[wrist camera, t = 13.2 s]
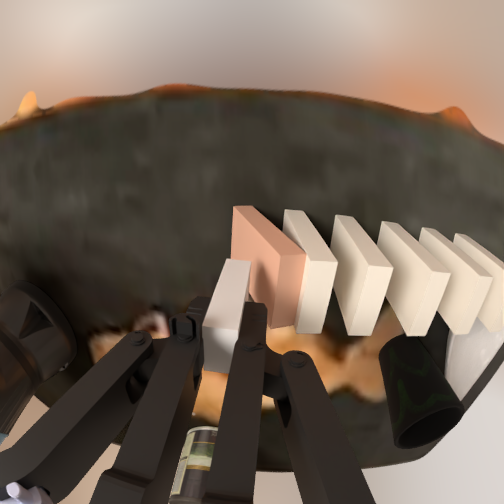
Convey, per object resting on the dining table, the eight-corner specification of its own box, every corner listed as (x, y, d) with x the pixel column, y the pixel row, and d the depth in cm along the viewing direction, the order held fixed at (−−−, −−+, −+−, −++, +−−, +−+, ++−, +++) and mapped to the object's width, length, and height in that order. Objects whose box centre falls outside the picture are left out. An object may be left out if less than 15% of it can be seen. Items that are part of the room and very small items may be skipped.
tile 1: (278, 262, 26) (296, 333, 17) (284, 209, 24) (310, 260, 15) (295, 263, 26) (320, 333, 17) (303, 210, 24) (338, 262, 15)
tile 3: (370, 270, 26) (407, 336, 17) (382, 220, 24) (432, 271, 15) (384, 271, 26) (425, 335, 17) (397, 223, 24) (451, 273, 15)
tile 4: (409, 273, 26) (454, 334, 17) (422, 227, 24) (479, 275, 15) (421, 274, 26) (468, 333, 17) (434, 229, 24) (493, 277, 15)
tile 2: (326, 266, 26) (348, 335, 17) (335, 214, 24) (368, 265, 15) (342, 267, 26) (370, 336, 17) (352, 216, 24) (393, 267, 15)
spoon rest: (468, 260, 25) (504, 292, 18) (515, 283, 26) (544, 312, 19) (372, 401, 35) (382, 441, 28) (427, 404, 35) (440, 438, 29)
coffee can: (220, 420, 38) (204, 501, 25) (258, 447, 41) (251, 517, 28) (174, 430, 41) (153, 498, 28) (212, 455, 44) (200, 517, 31)
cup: (421, 364, 31) (452, 434, 20) (369, 378, 32) (389, 456, 21) (430, 320, 28) (474, 394, 17) (371, 335, 29) (401, 421, 18)
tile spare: (230, 259, 26) (270, 328, 18) (233, 206, 24) (280, 255, 15) (247, 258, 27) (294, 325, 18) (251, 205, 25) (306, 253, 16)
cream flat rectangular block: (442, 276, 26) (489, 332, 17) (455, 233, 24) (514, 278, 15) (452, 277, 26) (500, 331, 17) (466, 234, 24) (524, 279, 15)
